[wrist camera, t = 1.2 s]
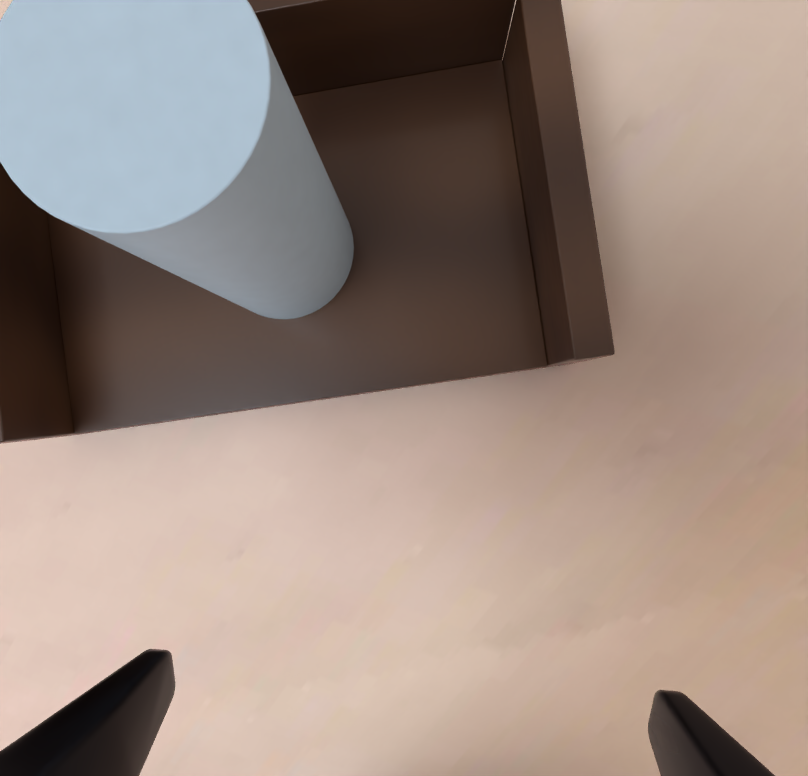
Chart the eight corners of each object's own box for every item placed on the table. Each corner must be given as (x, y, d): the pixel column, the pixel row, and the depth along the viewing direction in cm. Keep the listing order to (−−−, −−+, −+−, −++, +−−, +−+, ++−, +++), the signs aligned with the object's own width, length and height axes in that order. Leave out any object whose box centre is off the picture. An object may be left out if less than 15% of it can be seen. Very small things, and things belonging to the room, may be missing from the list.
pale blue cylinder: (363, 308, 20) (289, 207, 9) (225, 328, 21) (-1, 254, 10) (337, 128, 21) (237, -177, 10) (201, 151, 21) (-46, -119, 10)
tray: (571, 363, 21) (628, 351, 15) (68, 436, 23) (-61, 450, 17) (523, 45, 22) (560, -87, 16) (30, 132, 23) (-110, 40, 17)
